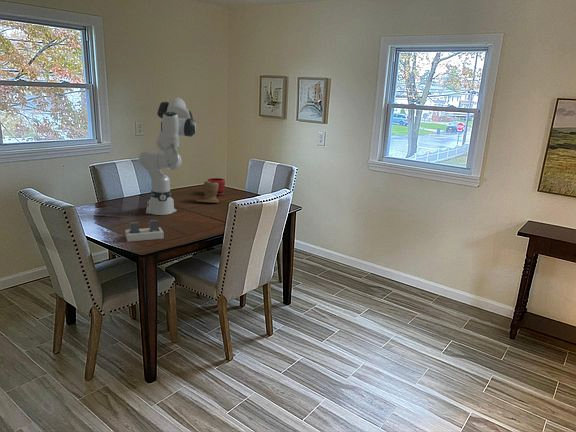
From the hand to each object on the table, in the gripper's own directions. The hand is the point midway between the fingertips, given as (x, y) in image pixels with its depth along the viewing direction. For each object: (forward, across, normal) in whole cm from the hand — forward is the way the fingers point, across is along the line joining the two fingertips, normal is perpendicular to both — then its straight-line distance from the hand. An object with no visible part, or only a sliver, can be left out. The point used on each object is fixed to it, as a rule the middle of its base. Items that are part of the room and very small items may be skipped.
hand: (171, 168), depth 238 cm
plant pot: (+34, +72, -48) cm, 93 cm away
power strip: (+34, -9, +17) cm, 39 cm away
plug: (+34, -14, +12) cm, 39 cm away
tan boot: (+34, +51, -36) cm, 71 cm away
